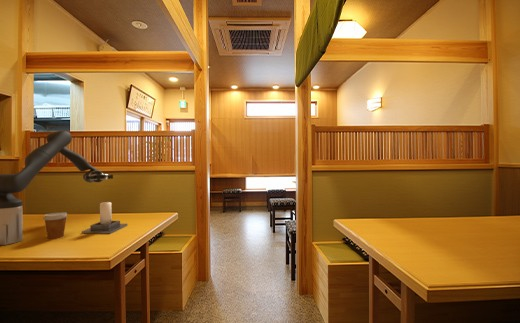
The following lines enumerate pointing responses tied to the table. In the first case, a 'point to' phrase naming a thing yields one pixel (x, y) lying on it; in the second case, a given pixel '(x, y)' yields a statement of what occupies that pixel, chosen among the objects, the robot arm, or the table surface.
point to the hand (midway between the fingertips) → (101, 177)
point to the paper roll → (105, 213)
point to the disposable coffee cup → (55, 224)
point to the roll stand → (105, 228)
